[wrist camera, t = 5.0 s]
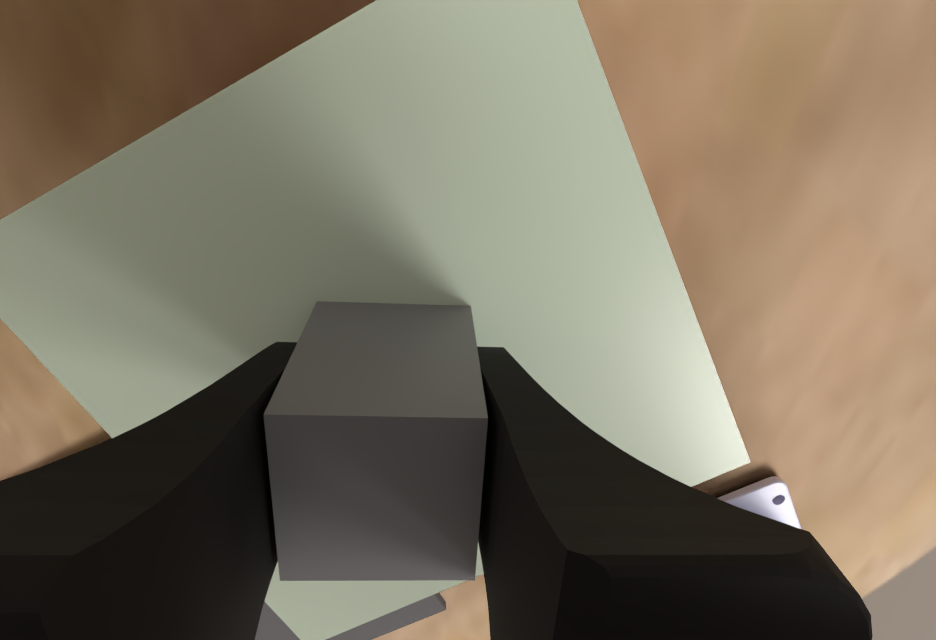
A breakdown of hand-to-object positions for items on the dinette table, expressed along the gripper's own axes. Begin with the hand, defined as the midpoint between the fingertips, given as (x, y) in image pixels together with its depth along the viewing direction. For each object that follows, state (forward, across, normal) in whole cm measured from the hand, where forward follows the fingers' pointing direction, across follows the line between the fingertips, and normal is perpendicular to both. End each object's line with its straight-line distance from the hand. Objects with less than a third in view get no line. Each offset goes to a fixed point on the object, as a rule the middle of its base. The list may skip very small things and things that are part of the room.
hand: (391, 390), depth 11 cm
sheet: (+2, 0, 0) cm, 2 cm away
